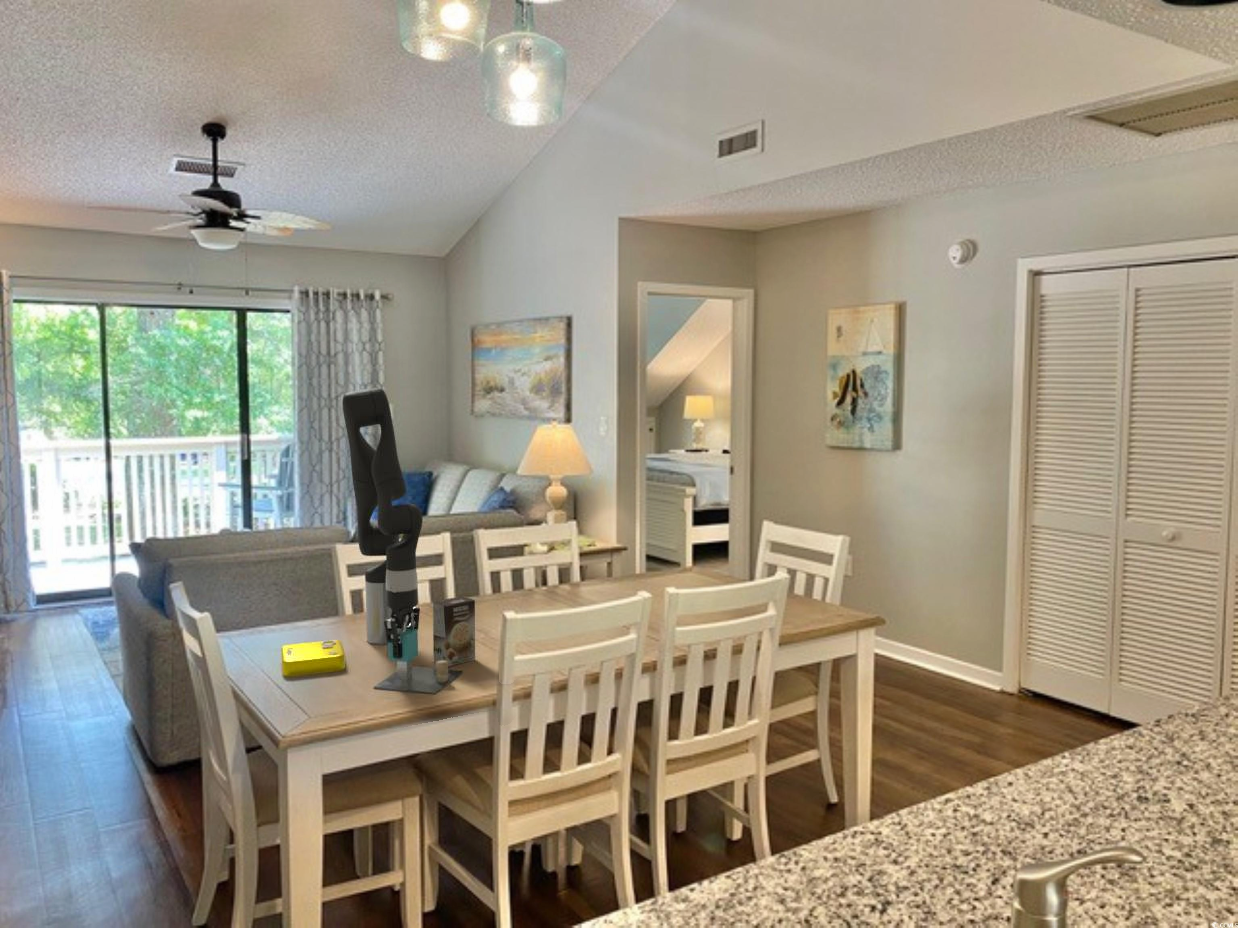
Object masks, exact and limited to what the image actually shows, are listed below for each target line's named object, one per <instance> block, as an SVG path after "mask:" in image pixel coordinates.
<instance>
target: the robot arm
mask: <svg viewBox="0 0 1238 928" xmlns="http://www.w3.org/2000/svg"><path fill="white" fill-rule="evenodd" d="M341 402H342V411H343V418H344V424H345V429H346V434H347V435H346V436H347V439H348V440H347V441H348V445H349V455H350V466H351V477H352V478H351V479H352V486H353V492H354V499H355V506H356V513H357V515H356V517H357V518H356V519H357V540H358V541H357V542H358V546H359V547H358V548H359V552H360V554H362V556H364V557H384V556H385V557H386V558H385V560H384V561H383V562H381V563H379V564H377V565H374V566H372V567H369V568H368V569H366V570H365V573H364V580H365V581H364V583H365V610H366V611H365V614H366V615H365V616H366V618H365V619H366V642H367V643H369V644H374V645H385V644H388V643H392V644H393V658H397V659H400V658H402V635H403V634H405V631H406V629H410V630H412V629H417V630H418V631H419V623H420V607H417V606H418V603H419V592H418V591H419V590H418V589H419V588H418V587H419V586H418V572H417V553H416V551H417V549H418V548H417V547H418V542H419V539H420V535H421V531H422V527H423V522H424V521H423V519H424V518H423V514H422V511H421V509H420V507H419V506H418V505H416V504H414V503H409V504H407V503H406V504H400V505H393V502H394V501H397V500H400V499H401V498H403V497H405V495H406V493H407V486H406V483H405V479H404V475H403V472H402V468H401V465H400V461H399V456H398V450H397V441H396V435H395V430H394V425H393V418H392V413H391V407H390V402H389V399H388V397H387V394H386V391H385V390H384V389H383V388H381V387H374V388H367V389H366V388H365V389H361V390H360V389H359V390H355V391H354V390H353V391H350V392H349V391H348V392H346V393H345V394H344V395H343V396H342V401H341ZM375 425H376V426H377V425H379V427H380V438H379V442H378V444H377V446H376V449H375V448H374V447H373V446H372V445H370V443H369V442H368V441H367V440H366V438H365V437H364V435H363V433H361V428H364V427H370V426H375ZM376 509H377V522H371V518H372V516H373V514H374V512H375V511H376ZM400 535H402V536H401V539H400ZM397 629H401V630H397ZM398 634H399V638H398Z"/></svg>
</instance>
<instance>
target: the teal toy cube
mask: <svg viewBox="0 0 1238 928" xmlns="http://www.w3.org/2000/svg"><path fill="white" fill-rule="evenodd" d="M397 630H401V629H397ZM418 631H419V629H418V630H417V629H412V630H410V629H406V631H405V634H403V635H402V658H400V659H397V658H393V644H392V643H387V644H388V661H393V662H397V661H402V662H409V661H410V660H413V659H416V657H418V656H419V639H418V636H419V635H418ZM398 638H399V634H398Z"/></svg>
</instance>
